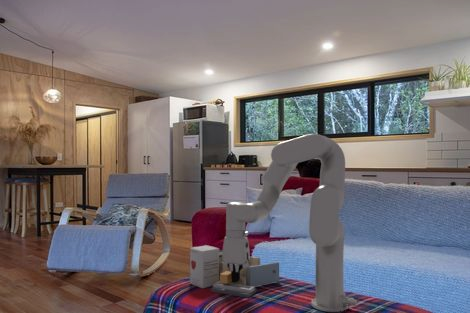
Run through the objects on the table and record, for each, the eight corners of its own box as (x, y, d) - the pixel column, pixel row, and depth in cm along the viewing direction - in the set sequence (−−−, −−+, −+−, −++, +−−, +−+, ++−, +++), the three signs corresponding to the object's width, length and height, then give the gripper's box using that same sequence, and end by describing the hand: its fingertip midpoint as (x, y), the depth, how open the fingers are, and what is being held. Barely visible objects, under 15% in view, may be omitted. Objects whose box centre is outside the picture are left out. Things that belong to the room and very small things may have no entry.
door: (280, 282, 164) (280, 262, 164) (248, 289, 154) (248, 267, 155) (277, 281, 165) (277, 261, 166) (245, 287, 156) (245, 266, 157)
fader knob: (233, 285, 155) (233, 271, 155) (227, 289, 151) (227, 274, 151) (226, 284, 157) (226, 270, 157) (219, 287, 152) (219, 273, 152)
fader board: (256, 291, 152) (256, 285, 152) (248, 297, 145) (248, 291, 145) (220, 286, 159) (220, 280, 159) (210, 291, 152) (210, 285, 152)
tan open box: (260, 278, 170) (260, 257, 171) (244, 288, 156) (244, 265, 156) (237, 275, 175) (237, 255, 176) (220, 284, 161) (220, 262, 161)
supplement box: (189, 283, 162) (189, 247, 163) (206, 279, 168) (206, 244, 169) (202, 288, 156) (202, 251, 156) (219, 284, 162) (219, 247, 162)
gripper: (257, 234, 152) (257, 281, 152) (223, 231, 159) (223, 276, 159) (249, 237, 146) (248, 286, 145) (214, 233, 152) (214, 281, 152)
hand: (235, 281), depth 152 cm, fingers closed
